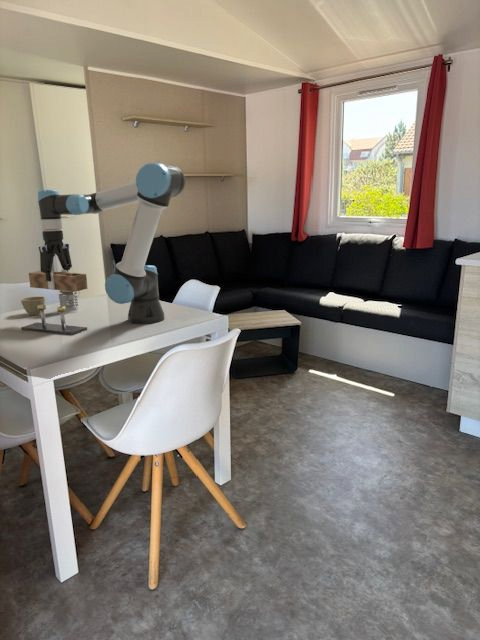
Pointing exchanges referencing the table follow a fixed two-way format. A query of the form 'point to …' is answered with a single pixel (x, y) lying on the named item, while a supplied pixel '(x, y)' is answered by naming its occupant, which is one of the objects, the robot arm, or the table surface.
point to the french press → (69, 297)
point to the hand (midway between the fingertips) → (59, 287)
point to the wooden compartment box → (59, 281)
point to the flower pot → (32, 304)
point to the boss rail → (54, 327)
